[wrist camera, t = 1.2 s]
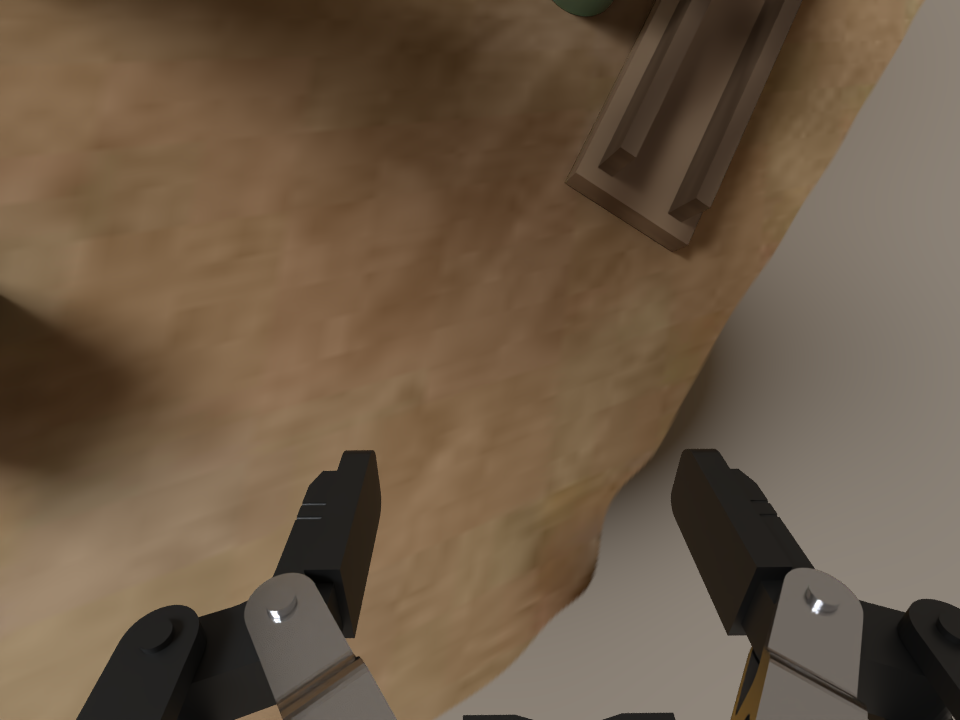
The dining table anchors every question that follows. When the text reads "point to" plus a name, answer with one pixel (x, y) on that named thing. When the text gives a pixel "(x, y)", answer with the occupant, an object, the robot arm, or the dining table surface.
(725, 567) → the robot arm
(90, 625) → the dining table surface
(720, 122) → the cradle
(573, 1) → the bottle
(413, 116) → the dining table surface
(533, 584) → the dining table surface
